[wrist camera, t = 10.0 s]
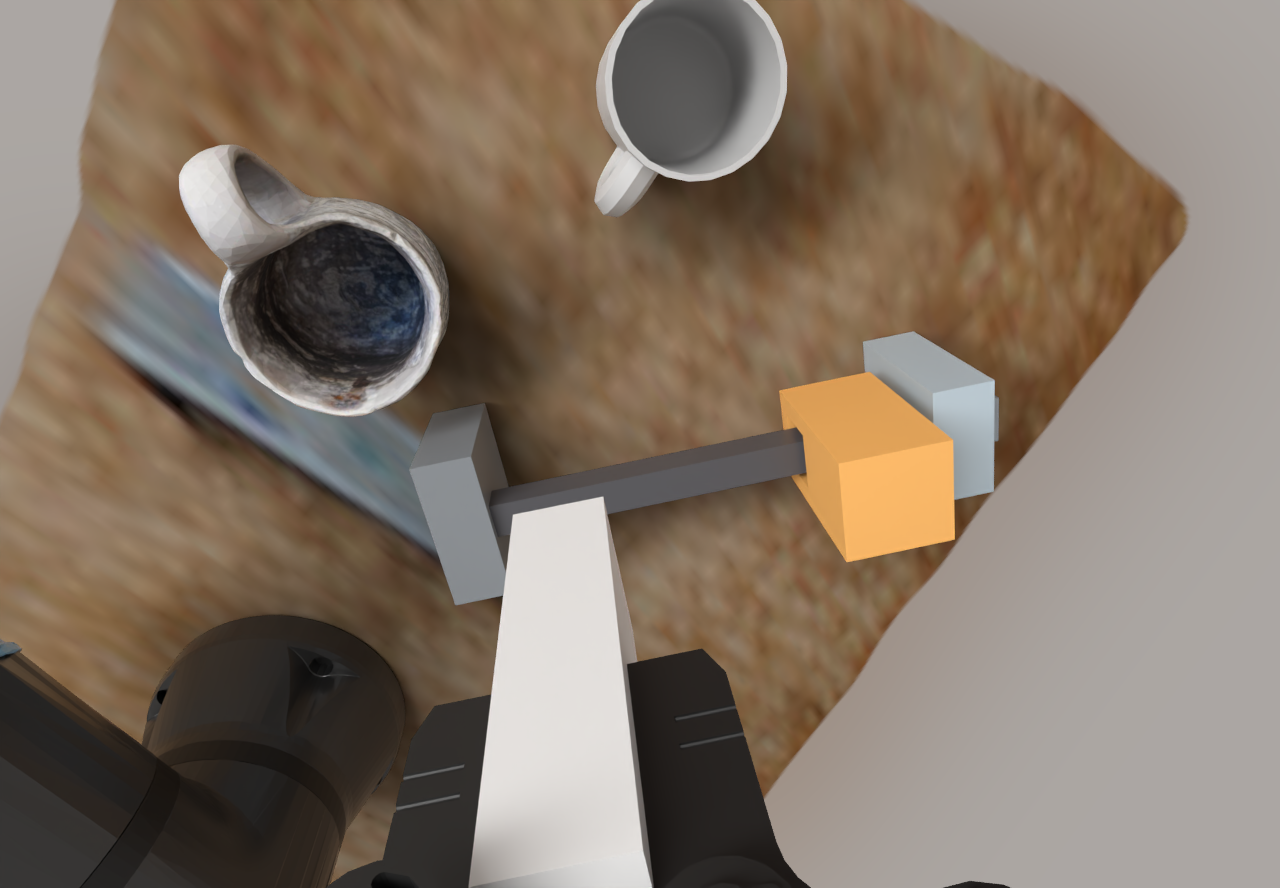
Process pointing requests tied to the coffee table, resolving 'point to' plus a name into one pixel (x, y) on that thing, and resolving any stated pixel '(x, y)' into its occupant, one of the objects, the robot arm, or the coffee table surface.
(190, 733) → the robot arm
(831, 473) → the orange sliding sleeve
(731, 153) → the cup
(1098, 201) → the coffee table surface
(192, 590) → the coffee table surface
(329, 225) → the mug
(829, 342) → the coffee table surface
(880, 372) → the rail rig
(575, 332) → the coffee table surface
